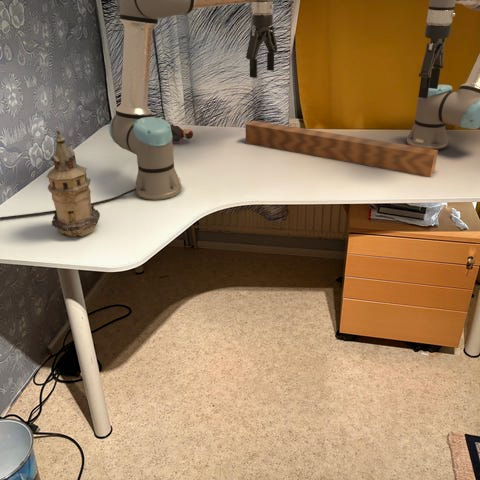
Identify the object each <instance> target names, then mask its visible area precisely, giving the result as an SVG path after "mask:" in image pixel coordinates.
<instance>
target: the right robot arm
mask: <svg viewBox="0 0 480 480" xmlns="http://www.w3.org/2000/svg"><path fill="white" fill-rule="evenodd" d="M456 4H460V5H463V7H465V8H467V9H471V10H475V11H477V12H478V11H479V12H480V0H429V5H428V9H427V16H426V23H427V24H426V25H425V30H424V37H425V38H426V39H430V41H429V42H427V43H426V48H425V53H424V57H423V61H422V64H421V68H420V72H419V73H418V77H419V78H420V82H419V83H420V84H419V89H418V90H419V91H418V95H417V102H416V109H415V117H414V123H413V125H412V128H411V130H410V131H409V134H408V135H407V139H406V145H409V146H415V147H421V148H428V149H434V150H438V151H443V150H445V149H446V148H447V147H448V136H447V130H446V124H448V125H451V126H456V127H460V128H462V129H469V130H478V129H480V53H479V54H478V56H477V58H476V60H475V63H474V64H473V67H472V69H471V71H470V74H469V76H468V78H467V80H466V82H465V83H462V84H461V85H459V87H458V89H457V91H453V86H452V85H449V84H439V83H440V76H441V71H442V70H441V69H444V66H445V65H444V52H445V42H446V39H449V38H450V37H451V33H452V32H451V31H452V25H451V24H452V23H453V20H454V19H453V18H454V17H456V13H455V7H456Z"/></svg>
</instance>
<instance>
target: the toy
mask: <svg viewBox="0 0 480 480" xmlns="http://www.w3.org/2000/svg"><path fill="white" fill-rule="evenodd" d="M169 125H170V127H171V132H172V144H179V143H181V142H182V141H183V140H184V139H186V140H191V139H193V137H194V131H193V130H192V129H190V128H185V129H182V127H180V126H179V125H174V123H169Z"/></svg>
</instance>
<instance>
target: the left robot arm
mask: <svg viewBox="0 0 480 480" xmlns="http://www.w3.org/2000/svg"><path fill="white" fill-rule="evenodd" d="M277 1H278V0H114V2H115V5H116V6H117V8H118V9H119V21H120V22H121V23H122V25H123V26H124V29H123V30H124V31H123V50H122V55H123V56H122V73H121V74H122V75H121V96H120V97H121V98H120V104H119V105H118V106H117V107H116V108H115V115H113V118H111V120H110V122H109V127H108V129H109V130H108V131H109V135H110V138H111V139H112V141H113V142H114V143H115V144H116V145H117V146H118V147H120V148H121V149H123V150H126V151H128V152H130V153H132V154H134V155H135V156H136V161H137V175H136V179H135V184H134V188H133V189H130V190H128V191H125V192H124V193H121V194H119V195H117V196H112V197H110V198H107V199H103V200H99V201H95V202H91V205H93V204H94V206H95V205H99V204H104V203H107V202H110V201H113V200H116V199H120V198H123V197H124V196H126V195H128V194H131V193H135V195H136V196H137V197H138V198H141V199H143V200H148V201H161V200H168V199H171V198H174V197H176V196H178V195H179V194H180V193H181V192H182V181H181V180H182V179H181V178H180V177H179V176H178V173H177V171H176V169H175V161H174V160H175V159H174V158H175V157H174V146H173V145H174V144H173V143H172V132H171V127H170V123H169V122H168V121H167V120H166V119H164V118H161V117H155V116H152V113H153V112H152V110H151V109H150V108H149V106H148V102H149V87H150V73H151V72H150V71H151V56H152V55H151V54H152V41H153V30H154V29H155V28H156V27H157V26H158V23H159V19H165V18H169V17H174V16H180V15H185V14H186V15H188V14H191V13H192V12H193V11H194V10H197V9H205V8H214V7H215V8H216V7H223V6H231V5H239V4H247V3H251V13H252V16H251V24H252V26H253V27H254V29H255V30H254V29H251V30H250V31H249V32H250V35H249V41H248V45H247V49H246V56H245V58H246V59H247V60H249V78H252V79H257V78H258V59H257V56H258V53H259V51H260V48H261V45H263V43H264V45H265V47H266V49H267V51H268V52H267V53H266V71H272V72H274V71H275V54H277V53H278V44H277V39H276V35H275V26H274V25H273V24H274V15H273V11H274V5H275V4H274V2H277ZM55 211H56V209H54V210H47V211H39V212H31V213H24V214H15V215H7V216H0V220H9V219H16V218H25V217H26V218H27V217H33V216H34V217H35V216H42V215H48V214H55V213H54V212H55Z"/></svg>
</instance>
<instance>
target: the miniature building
mask: <svg viewBox="0 0 480 480" xmlns="http://www.w3.org/2000/svg"><path fill="white" fill-rule="evenodd" d="M56 134H57V136H56V138H55V140H54V141H55V142H56V147H55V154H54V156H52V157H51V161H52V162H53V165H54V167H53V168H51V169H50V170H49V171H48V173H47V174H46V178H47V179H48V182H49V184H48V186H47V190H48V191H49V193H50V194H51V200H52V201H53V205H54V210H56V211H55V212H54V213H53V217H52V220H51V223H52V225H51V227H54V228H56V229H58V230H59V231H60V234H63V235H64V234H65V235H66V236H69V237H77V236H80V237H83V236H87V235H88V234H90V233H93V232H94V231H95V229H96V226H97V225H98V223H99V220H100V216H101V213H100V212H99V210H98V209H96V208H95V205H94V204H93V205H91V203H92V201H91V200H92V199H91V198H92V197H91V192H92V191H91V188H90V184H91V178H89V177H88V174H87V167H85V166H84V165H83V166H82V165H80V164H77V160H76V154H75V151H74V150H70V149H69V147H68V145H67V143H66V138H65V137H64V136H63V135H61V130H60V129H56Z"/></svg>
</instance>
